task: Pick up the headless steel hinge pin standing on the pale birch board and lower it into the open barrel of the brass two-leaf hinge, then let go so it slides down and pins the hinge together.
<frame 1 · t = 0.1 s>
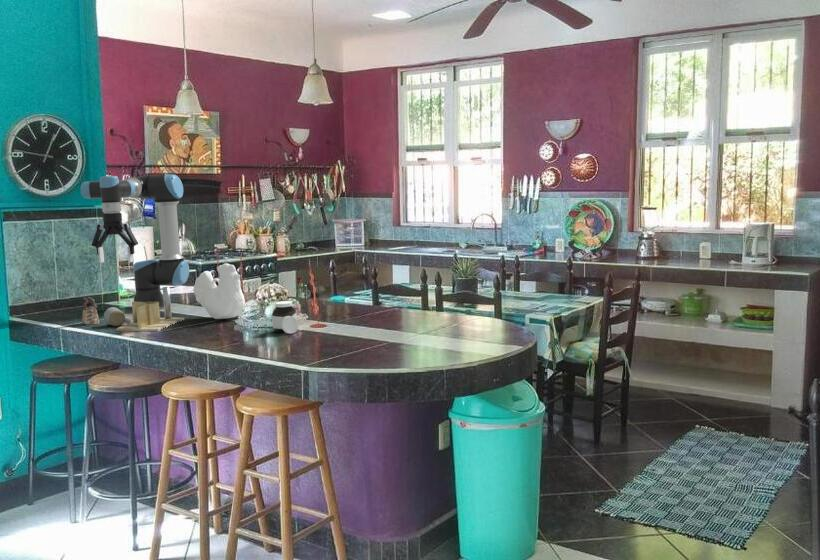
hand: (116, 262, 332), 28 cm above the counter, tool pointing down, fingers open, 13 cm apart
brass hinge: (152, 323, 335), resting on birch board
spread jar: (287, 332, 312), on the counter
decorative rooster: (221, 318, 349), on the counter
figurine: (91, 324, 346), on the counter
birch board: (151, 325, 336), on the counter
ceramic mug: (118, 325, 340), on the counter
hinge pin: (168, 318, 345), point 1 cm above the counter, touching birch board
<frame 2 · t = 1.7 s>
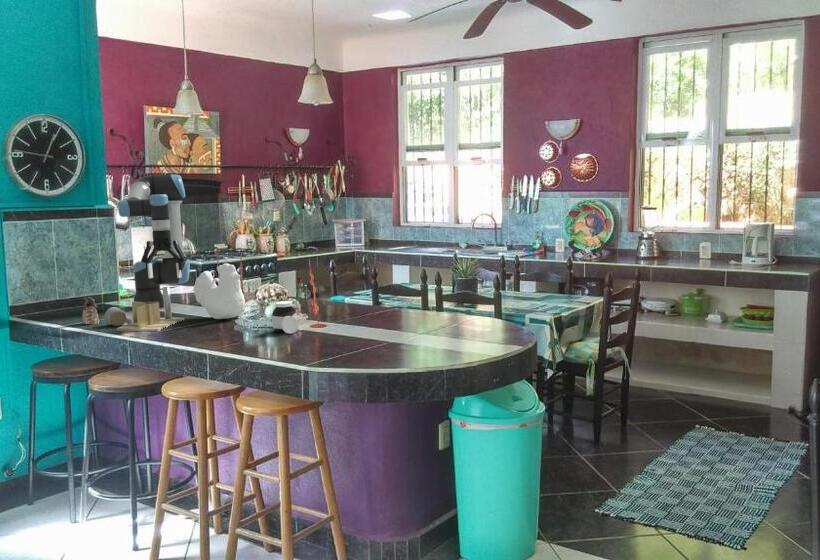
hand: (165, 277, 343), 19 cm above the counter, tool pointing down, fingers open, 13 cm apart
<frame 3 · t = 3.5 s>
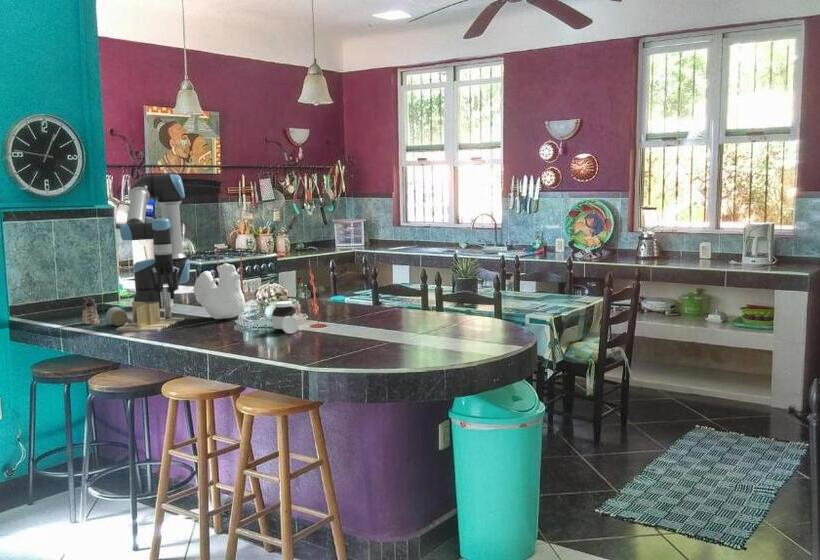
hand: (167, 306, 345), 7 cm above the counter, tool pointing down, fingers closed on hinge pin, 3 cm apart
hinge pin: (168, 318, 345), point 1 cm above the counter, touching birch board, gripper
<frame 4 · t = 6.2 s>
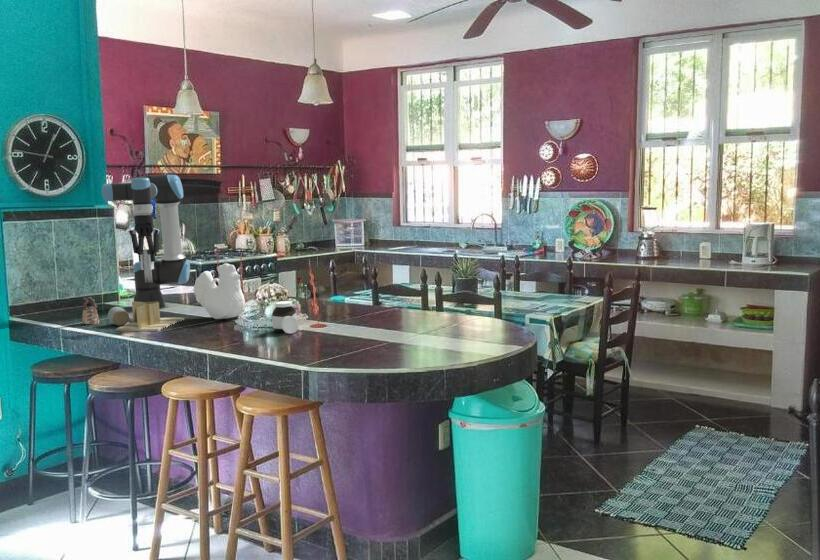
hand: (147, 269, 332), 25 cm above the counter, tool pointing down, fingers closed on hinge pin, 3 cm apart
hinge pin: (148, 282, 333), point 19 cm above the counter, touching gripper
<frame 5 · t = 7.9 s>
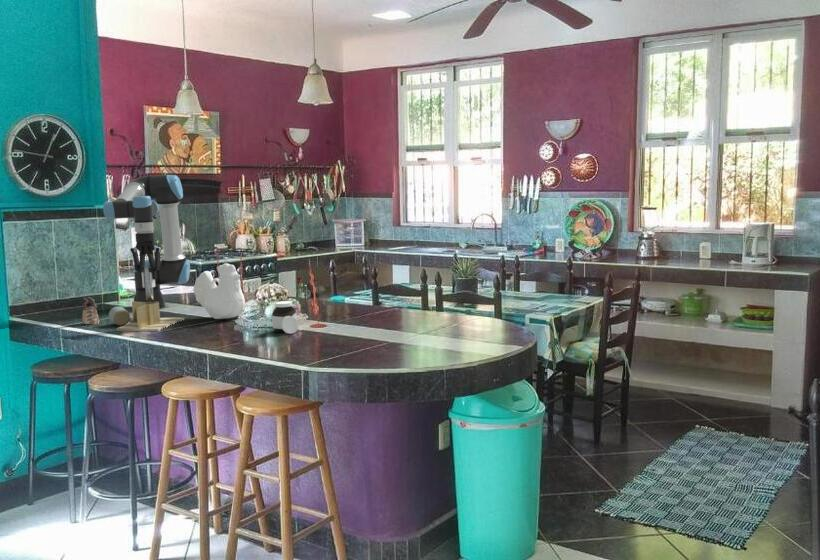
hand: (149, 286, 333), 17 cm above the counter, tool pointing down, fingers closed on hinge pin, 3 cm apart
hinge pin: (150, 299, 333), point 11 cm above the counter, touching gripper
when the fingers open (12 cm above the counter, at t = 9.3 s): hinge pin drops 6 cm, resting on birch board.
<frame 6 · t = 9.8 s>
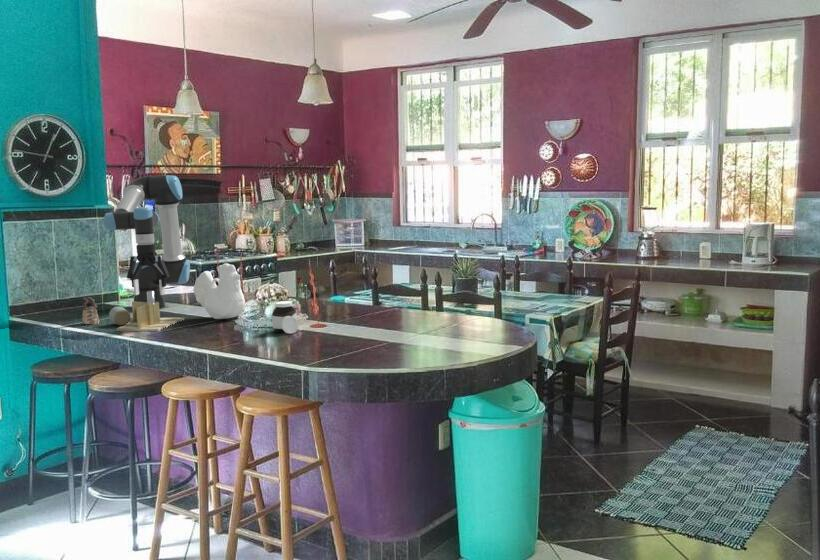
hand: (149, 294, 333), 14 cm above the counter, tool pointing down, fingers open, 11 cm apart
hinge pin: (152, 323, 335), point 1 cm above the counter, touching birch board
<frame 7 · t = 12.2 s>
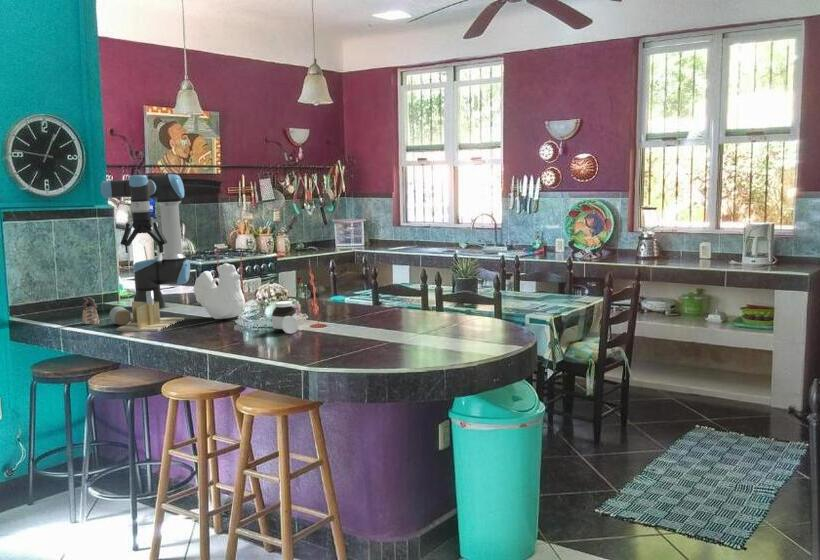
hand: (145, 260, 335), 28 cm above the counter, tool pointing down, fingers open, 13 cm apart
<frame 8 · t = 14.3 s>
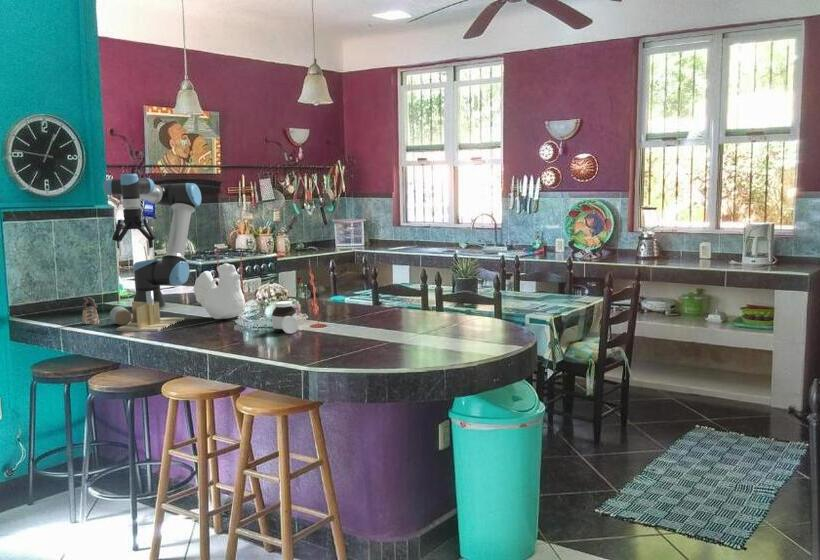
hand: (135, 255, 351), 29 cm above the counter, tool pointing down, fingers open, 13 cm apart
at the end: hinge pin 0.0 cm off-centre on the brass hinge, point 0.0 cm above the brass hinge's base; hinge pin tilted 0°; the gripper is holding nothing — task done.
